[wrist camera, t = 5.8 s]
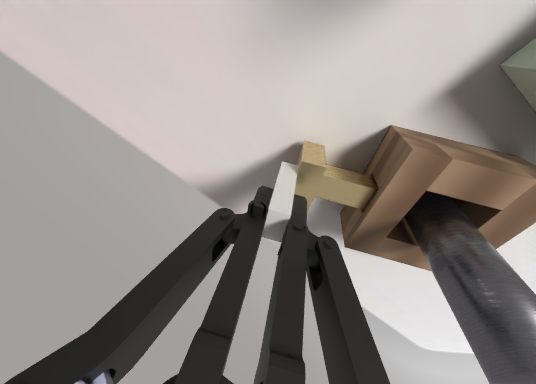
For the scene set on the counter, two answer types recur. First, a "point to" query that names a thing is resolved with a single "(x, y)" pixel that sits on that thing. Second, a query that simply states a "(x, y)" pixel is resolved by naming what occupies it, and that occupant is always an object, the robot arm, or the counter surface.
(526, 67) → the green square frame
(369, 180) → the tan t-shaped block
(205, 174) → the counter surface
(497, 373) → the dark grey peg
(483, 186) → the socket block
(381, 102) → the counter surface
